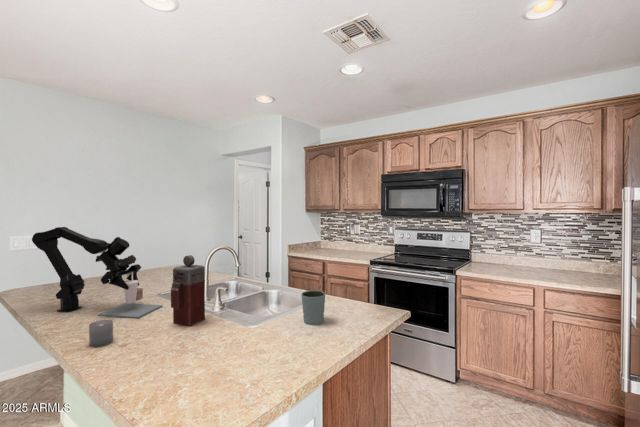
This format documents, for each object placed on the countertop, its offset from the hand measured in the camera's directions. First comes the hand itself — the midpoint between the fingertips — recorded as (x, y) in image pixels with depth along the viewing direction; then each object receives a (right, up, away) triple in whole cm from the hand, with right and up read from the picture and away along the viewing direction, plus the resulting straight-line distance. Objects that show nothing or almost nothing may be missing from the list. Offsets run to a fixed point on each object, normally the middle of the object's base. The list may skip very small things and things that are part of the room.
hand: (133, 287), depth 145 cm
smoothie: (-1, -7, 0) cm, 7 cm away
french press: (+30, -12, -13) cm, 35 cm away
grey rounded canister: (+8, -12, -32) cm, 35 cm away
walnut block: (-10, -11, +19) cm, 24 cm away
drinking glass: (+83, -12, -11) cm, 85 cm away
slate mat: (-1, -11, +1) cm, 11 cm away
